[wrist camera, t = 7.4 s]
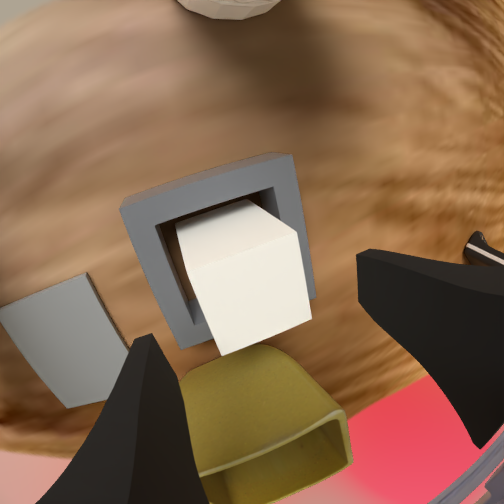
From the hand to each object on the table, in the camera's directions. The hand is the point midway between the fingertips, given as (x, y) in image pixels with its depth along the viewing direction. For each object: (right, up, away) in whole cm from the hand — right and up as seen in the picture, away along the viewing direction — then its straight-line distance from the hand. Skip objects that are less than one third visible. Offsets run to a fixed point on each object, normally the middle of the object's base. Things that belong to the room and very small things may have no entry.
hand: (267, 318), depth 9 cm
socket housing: (-2, +3, +7) cm, 7 cm away
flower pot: (-2, -7, +11) cm, 13 cm away
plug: (-2, +3, +7) cm, 8 cm away
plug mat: (-12, -4, +6) cm, 14 cm away
